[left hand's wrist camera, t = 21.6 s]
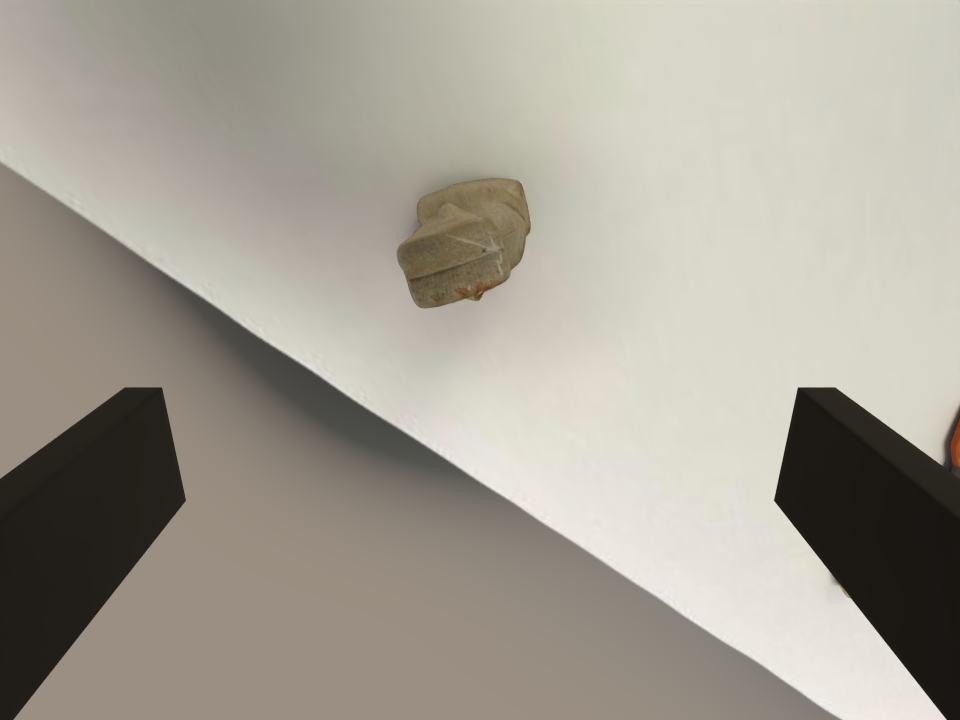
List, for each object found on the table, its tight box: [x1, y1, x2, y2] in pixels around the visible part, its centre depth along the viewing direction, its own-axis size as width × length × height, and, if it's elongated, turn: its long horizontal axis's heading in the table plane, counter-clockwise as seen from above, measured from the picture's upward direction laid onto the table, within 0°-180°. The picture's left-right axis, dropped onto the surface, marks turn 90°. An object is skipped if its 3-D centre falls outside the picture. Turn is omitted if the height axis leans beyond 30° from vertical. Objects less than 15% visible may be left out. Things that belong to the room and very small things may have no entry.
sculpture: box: [397, 178, 531, 308], centre depth 34 cm, size 6×7×15 cm
